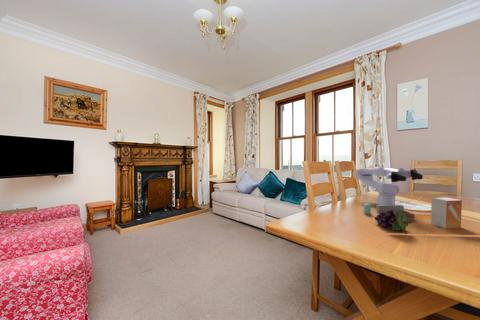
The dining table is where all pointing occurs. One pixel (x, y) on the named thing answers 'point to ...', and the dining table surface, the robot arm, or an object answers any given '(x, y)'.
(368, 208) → the dowel
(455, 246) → the dining table surface
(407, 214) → the block
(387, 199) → the robot arm
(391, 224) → the fruit
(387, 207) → the board
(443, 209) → the small box
